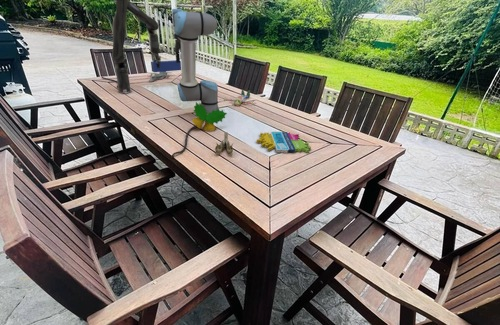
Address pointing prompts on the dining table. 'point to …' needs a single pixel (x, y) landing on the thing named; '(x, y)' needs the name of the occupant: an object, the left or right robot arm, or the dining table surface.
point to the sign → (283, 142)
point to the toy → (241, 99)
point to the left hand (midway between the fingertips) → (156, 67)
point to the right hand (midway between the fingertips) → (180, 64)
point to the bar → (166, 66)
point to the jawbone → (224, 145)
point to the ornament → (207, 117)
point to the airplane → (159, 76)
